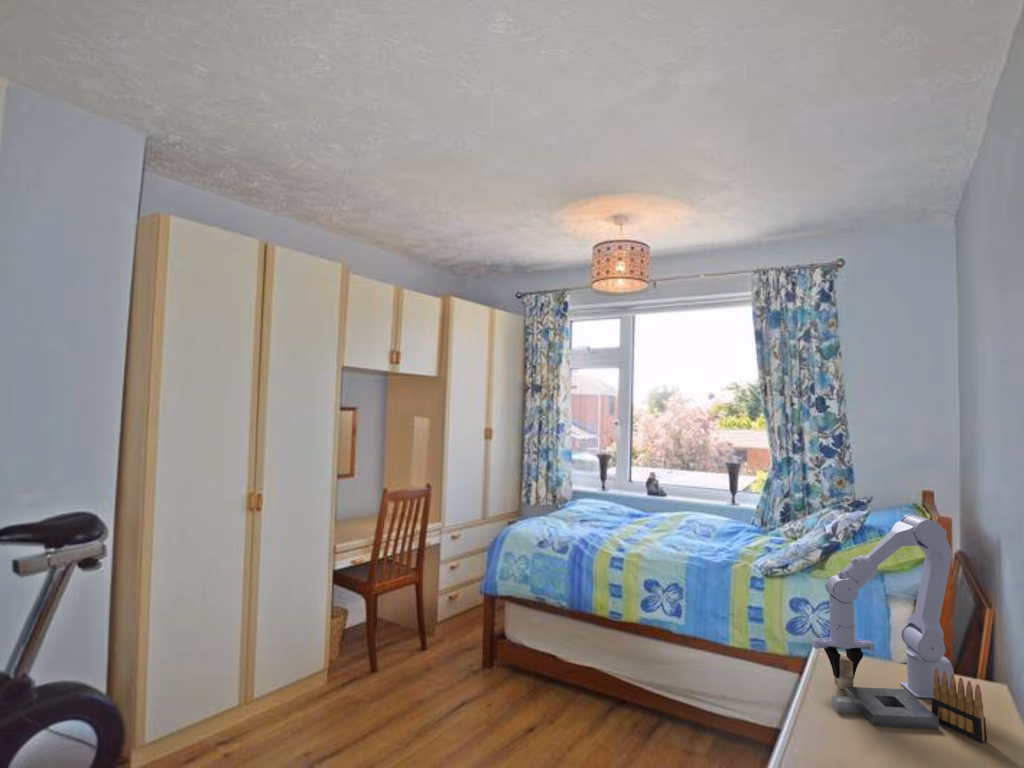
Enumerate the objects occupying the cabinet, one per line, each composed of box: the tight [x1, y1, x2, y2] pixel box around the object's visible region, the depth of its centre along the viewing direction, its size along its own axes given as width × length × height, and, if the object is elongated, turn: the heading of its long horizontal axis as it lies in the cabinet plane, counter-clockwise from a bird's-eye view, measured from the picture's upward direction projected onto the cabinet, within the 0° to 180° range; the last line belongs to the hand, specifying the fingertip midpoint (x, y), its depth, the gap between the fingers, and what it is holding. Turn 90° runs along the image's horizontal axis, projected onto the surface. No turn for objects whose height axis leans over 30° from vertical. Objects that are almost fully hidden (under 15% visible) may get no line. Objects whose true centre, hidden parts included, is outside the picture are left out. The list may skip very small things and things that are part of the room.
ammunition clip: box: [931, 668, 988, 744], centre depth 135 cm, size 11×2×12 cm, turn 22°
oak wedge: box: [833, 655, 854, 691], centre depth 156 cm, size 3×4×7 cm
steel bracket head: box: [831, 686, 940, 730], centre depth 143 cm, size 20×14×2 cm
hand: (843, 676), depth 156 cm, fingers closed on oak wedge, 3 cm apart
